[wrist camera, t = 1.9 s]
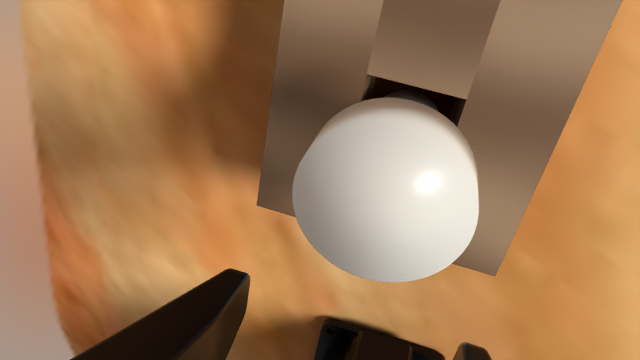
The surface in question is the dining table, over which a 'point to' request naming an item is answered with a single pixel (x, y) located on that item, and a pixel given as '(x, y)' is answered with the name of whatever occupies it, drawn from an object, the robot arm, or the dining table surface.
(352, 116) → the button
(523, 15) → the button block
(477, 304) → the dining table surface
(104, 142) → the dining table surface
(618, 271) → the dining table surface
